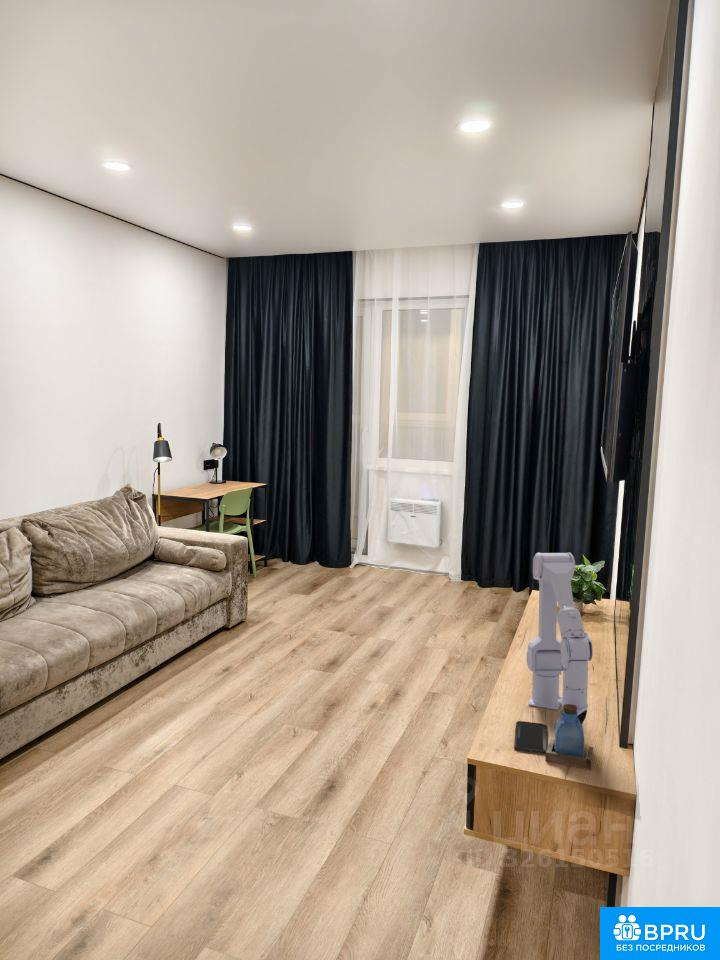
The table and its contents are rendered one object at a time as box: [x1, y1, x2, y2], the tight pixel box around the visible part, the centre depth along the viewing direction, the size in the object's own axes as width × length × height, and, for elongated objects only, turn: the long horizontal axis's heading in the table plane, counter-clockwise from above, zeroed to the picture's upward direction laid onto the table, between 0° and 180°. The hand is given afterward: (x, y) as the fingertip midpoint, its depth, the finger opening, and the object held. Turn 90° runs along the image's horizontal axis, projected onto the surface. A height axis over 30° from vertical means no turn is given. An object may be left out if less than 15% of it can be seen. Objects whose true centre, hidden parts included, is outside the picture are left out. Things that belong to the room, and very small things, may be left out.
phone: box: [513, 720, 548, 755], centre depth 162 cm, size 8×1×15 cm
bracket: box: [544, 738, 594, 771], centre depth 153 cm, size 7×10×2 cm
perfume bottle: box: [554, 704, 585, 758], centre depth 153 cm, size 6×6×12 cm
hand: (573, 739), depth 160 cm, fingers closed
